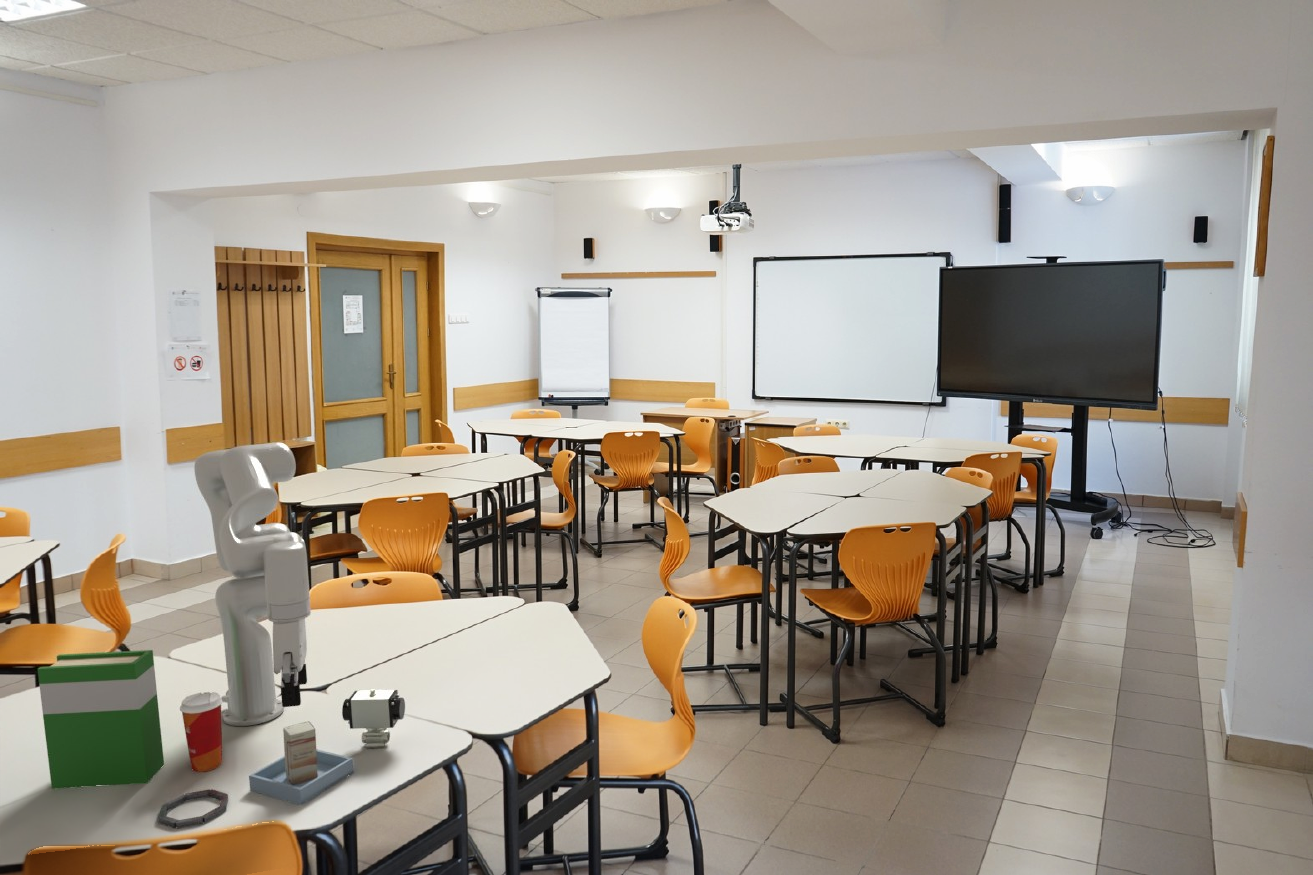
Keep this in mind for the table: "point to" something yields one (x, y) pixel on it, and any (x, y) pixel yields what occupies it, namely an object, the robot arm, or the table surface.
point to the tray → (278, 786)
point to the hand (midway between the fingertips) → (295, 694)
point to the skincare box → (300, 752)
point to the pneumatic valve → (374, 714)
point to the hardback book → (101, 719)
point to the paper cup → (203, 730)
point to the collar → (195, 820)
